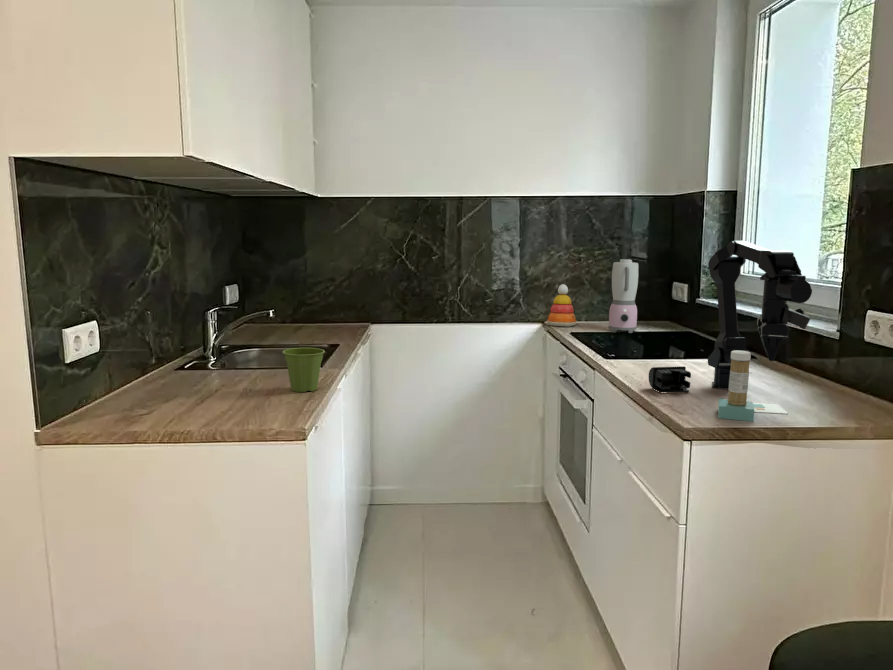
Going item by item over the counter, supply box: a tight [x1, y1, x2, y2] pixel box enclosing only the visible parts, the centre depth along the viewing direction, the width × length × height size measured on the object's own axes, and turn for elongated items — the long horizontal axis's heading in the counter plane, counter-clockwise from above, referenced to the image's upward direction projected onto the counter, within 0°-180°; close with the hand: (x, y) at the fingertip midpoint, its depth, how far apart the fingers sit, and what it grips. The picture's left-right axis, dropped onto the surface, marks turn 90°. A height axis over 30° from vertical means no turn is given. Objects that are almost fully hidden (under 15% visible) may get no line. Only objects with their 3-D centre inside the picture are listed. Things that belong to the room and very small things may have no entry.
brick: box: [717, 398, 755, 422], centre depth 171 cm, size 8×8×3 cm
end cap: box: [648, 366, 692, 393], centre depth 197 cm, size 10×7×7 cm
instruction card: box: [753, 402, 789, 415], centre depth 178 cm, size 9×12×1 cm
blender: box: [608, 258, 639, 334], centre depth 302 cm, size 16×12×32 cm
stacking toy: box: [546, 283, 578, 328], centre depth 319 cm, size 14×14×20 cm
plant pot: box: [282, 347, 326, 393], centre depth 193 cm, size 12×12×11 cm
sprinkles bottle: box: [727, 350, 752, 406], centre depth 170 cm, size 5×5×13 cm
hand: (769, 357), depth 179 cm, fingers open, 9 cm apart
